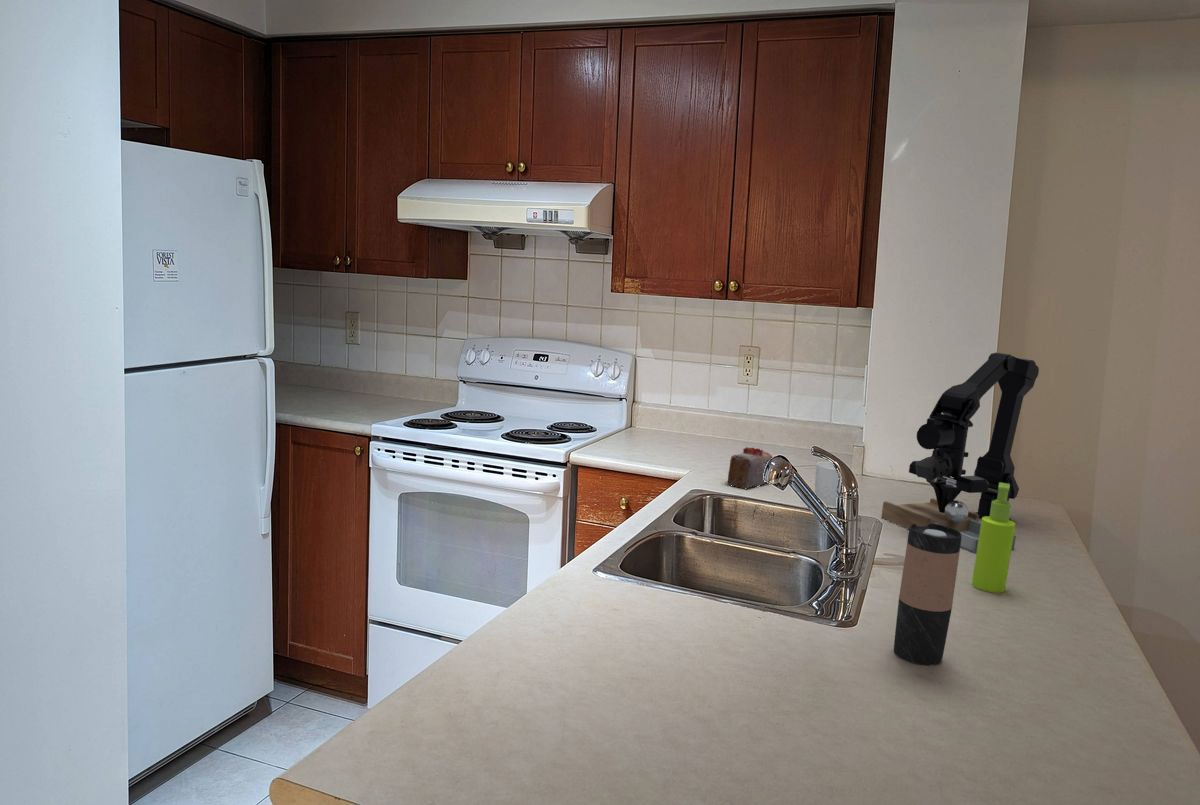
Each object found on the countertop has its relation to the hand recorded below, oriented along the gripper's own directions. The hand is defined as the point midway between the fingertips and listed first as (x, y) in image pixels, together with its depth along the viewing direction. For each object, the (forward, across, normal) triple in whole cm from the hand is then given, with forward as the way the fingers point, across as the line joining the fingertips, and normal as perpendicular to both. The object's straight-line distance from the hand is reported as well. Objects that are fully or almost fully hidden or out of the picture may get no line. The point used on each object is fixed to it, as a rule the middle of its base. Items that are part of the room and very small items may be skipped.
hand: (942, 512), depth 212 cm
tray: (+4, +10, 0) cm, 10 cm away
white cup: (+4, -22, -14) cm, 27 cm away
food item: (+4, -44, -23) cm, 49 cm away
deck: (+4, -4, 0) cm, 5 cm away
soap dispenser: (+4, +32, -20) cm, 38 cm away
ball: (-1, +4, 0) cm, 4 cm away
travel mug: (+4, +52, -58) cm, 78 cm away
